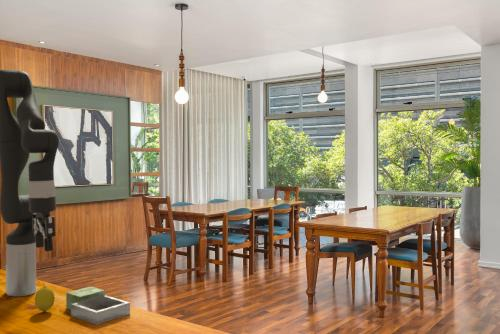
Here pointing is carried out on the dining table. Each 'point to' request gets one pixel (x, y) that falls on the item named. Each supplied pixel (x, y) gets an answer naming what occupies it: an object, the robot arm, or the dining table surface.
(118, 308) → the square open box
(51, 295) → the lemon
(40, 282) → the dining table surface
